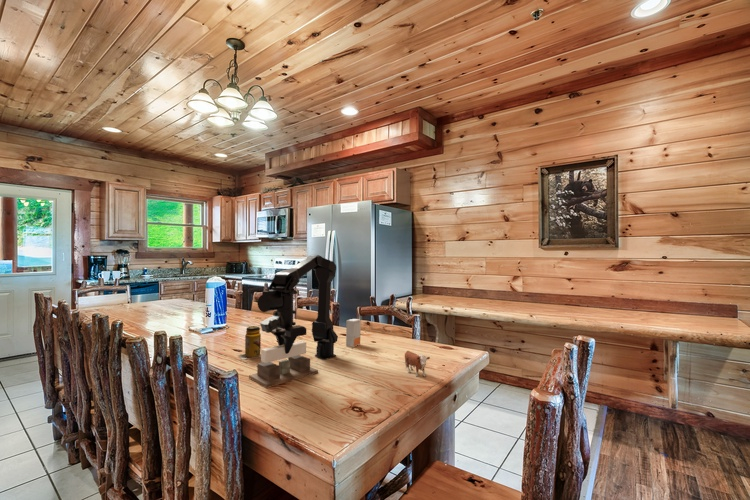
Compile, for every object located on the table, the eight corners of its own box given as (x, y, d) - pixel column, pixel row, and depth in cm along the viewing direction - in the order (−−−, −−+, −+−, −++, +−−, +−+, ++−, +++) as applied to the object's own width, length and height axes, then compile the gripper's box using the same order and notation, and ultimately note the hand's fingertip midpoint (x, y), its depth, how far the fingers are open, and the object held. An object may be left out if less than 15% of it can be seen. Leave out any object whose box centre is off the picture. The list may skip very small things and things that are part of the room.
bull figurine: (422, 382, 116) (422, 357, 116) (402, 369, 128) (402, 347, 128) (432, 380, 118) (433, 356, 118) (412, 368, 130) (412, 346, 130)
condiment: (263, 356, 143) (263, 327, 143) (241, 360, 138) (242, 330, 139) (258, 352, 149) (258, 324, 149) (237, 355, 144) (238, 327, 145)
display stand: (299, 365, 133) (299, 352, 133) (317, 372, 124) (318, 358, 124) (249, 378, 118) (249, 363, 118) (266, 387, 110) (266, 372, 110)
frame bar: (301, 351, 128) (301, 340, 128) (306, 353, 126) (306, 342, 126) (261, 361, 117) (261, 349, 117) (265, 363, 115) (265, 350, 115)
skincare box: (353, 347, 158) (353, 321, 158) (345, 346, 160) (346, 320, 160) (360, 344, 163) (361, 319, 163) (353, 343, 165) (353, 318, 166)
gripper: (250, 307, 122) (250, 351, 122) (277, 314, 109) (277, 363, 109) (279, 304, 130) (278, 345, 130) (307, 310, 117) (307, 356, 117)
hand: (284, 352), depth 121 cm, fingers closed on frame bar, 3 cm apart
